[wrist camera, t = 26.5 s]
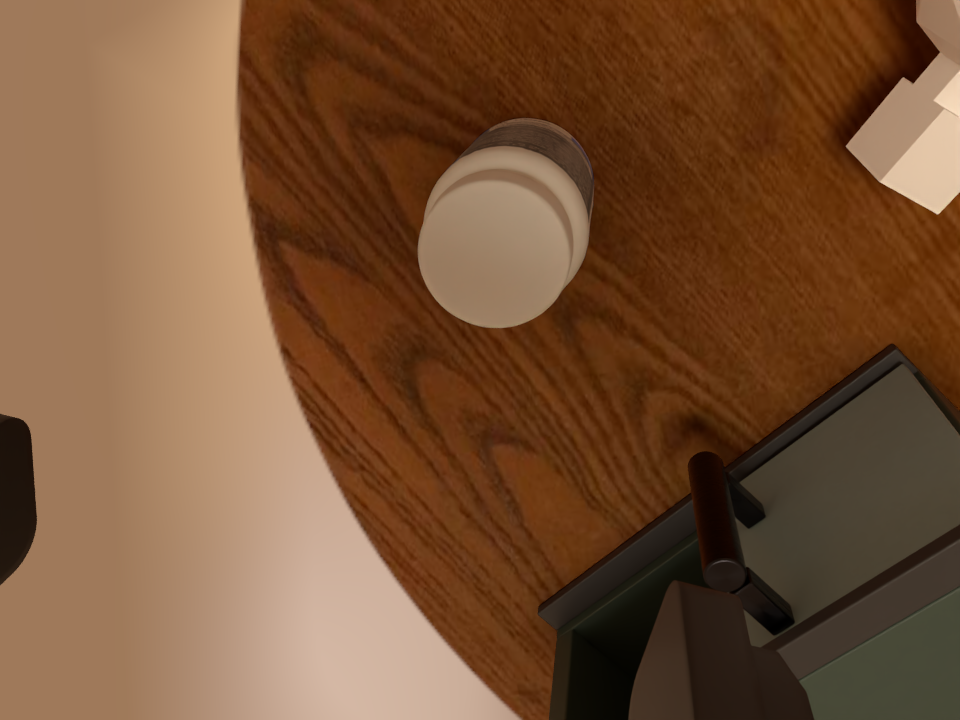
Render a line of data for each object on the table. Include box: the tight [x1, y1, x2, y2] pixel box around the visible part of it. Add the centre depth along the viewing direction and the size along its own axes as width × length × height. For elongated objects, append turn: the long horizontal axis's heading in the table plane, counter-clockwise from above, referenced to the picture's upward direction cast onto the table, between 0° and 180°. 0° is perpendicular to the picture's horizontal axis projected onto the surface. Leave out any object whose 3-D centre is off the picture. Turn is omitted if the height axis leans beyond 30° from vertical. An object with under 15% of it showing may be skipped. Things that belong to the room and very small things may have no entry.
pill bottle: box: [418, 118, 594, 328], centre depth 24 cm, size 5×5×8 cm
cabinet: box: [538, 344, 960, 720], centre depth 29 cm, size 13×18×10 cm
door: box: [688, 364, 960, 647], centre depth 26 cm, size 4×9×8 cm, turn 138°
